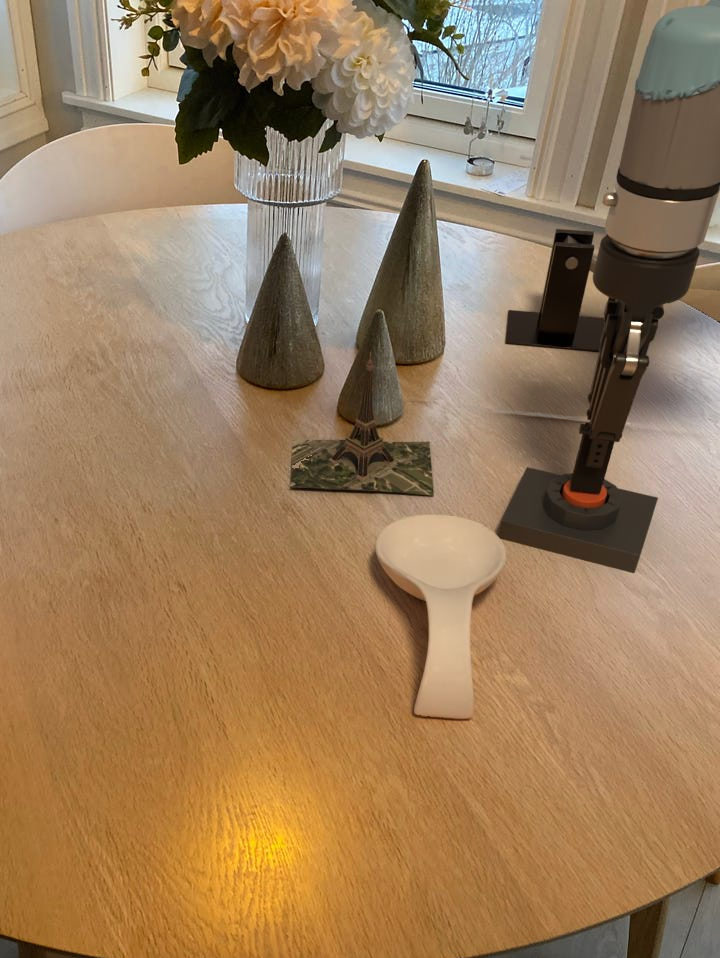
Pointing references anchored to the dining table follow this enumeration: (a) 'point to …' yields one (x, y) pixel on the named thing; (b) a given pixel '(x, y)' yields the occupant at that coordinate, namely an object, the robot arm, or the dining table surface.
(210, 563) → the dining table surface
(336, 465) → the eiffel tower figurine
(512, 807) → the dining table surface
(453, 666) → the spoon rest
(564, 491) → the button
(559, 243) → the bracket
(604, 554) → the button box
